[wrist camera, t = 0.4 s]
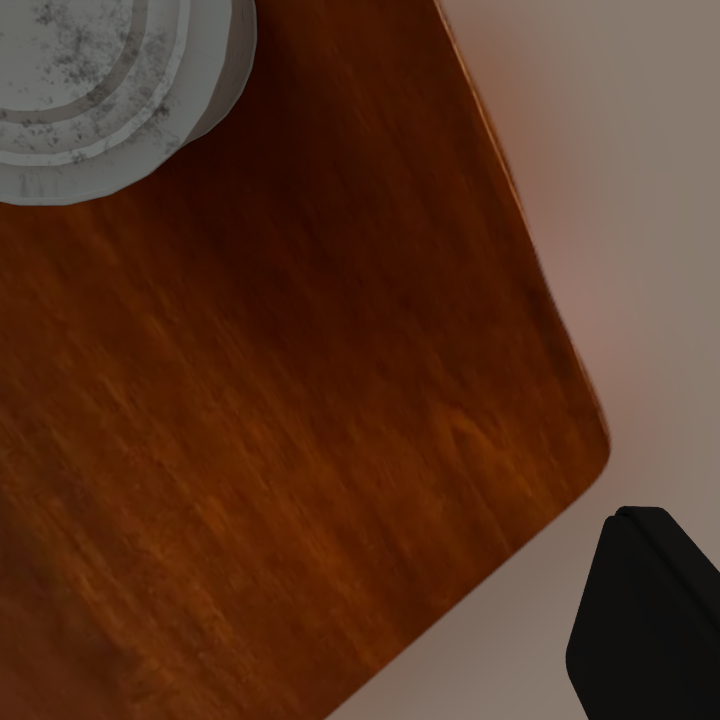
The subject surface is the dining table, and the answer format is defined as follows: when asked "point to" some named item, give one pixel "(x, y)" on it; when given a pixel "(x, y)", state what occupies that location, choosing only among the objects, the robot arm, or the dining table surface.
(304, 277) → the dining table surface
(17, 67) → the grey can
